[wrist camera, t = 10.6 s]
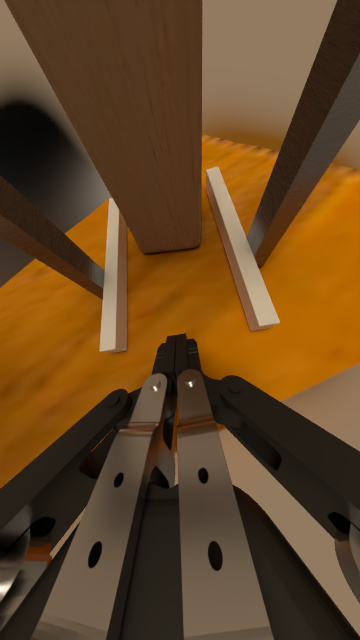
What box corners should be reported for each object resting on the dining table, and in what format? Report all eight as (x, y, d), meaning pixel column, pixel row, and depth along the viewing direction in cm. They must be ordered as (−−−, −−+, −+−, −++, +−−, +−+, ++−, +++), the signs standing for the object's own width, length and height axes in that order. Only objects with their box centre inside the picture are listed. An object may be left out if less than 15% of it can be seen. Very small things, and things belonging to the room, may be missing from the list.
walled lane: (113, 352, 17) (99, 351, 15) (117, 212, 26) (109, 198, 24) (267, 328, 15) (280, 322, 13) (216, 185, 24) (217, 166, 22)
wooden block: (199, 206, 23) (193, -476, 4) (201, 249, 20) (212, -1318, 1) (146, 214, 25) (-30, -262, 6) (141, 256, 22) (-254, -435, 3)
